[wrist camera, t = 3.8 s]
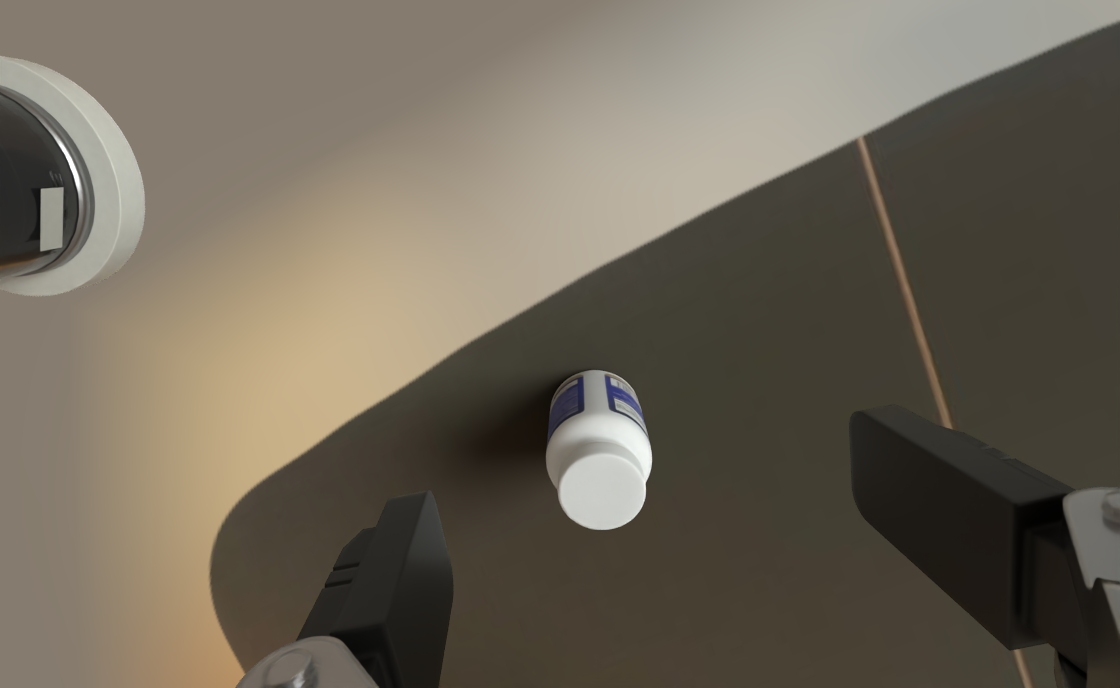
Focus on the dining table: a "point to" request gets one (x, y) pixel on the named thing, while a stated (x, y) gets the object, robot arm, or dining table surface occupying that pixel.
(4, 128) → the robot arm
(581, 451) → the pill bottle
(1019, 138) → the dining table surface
